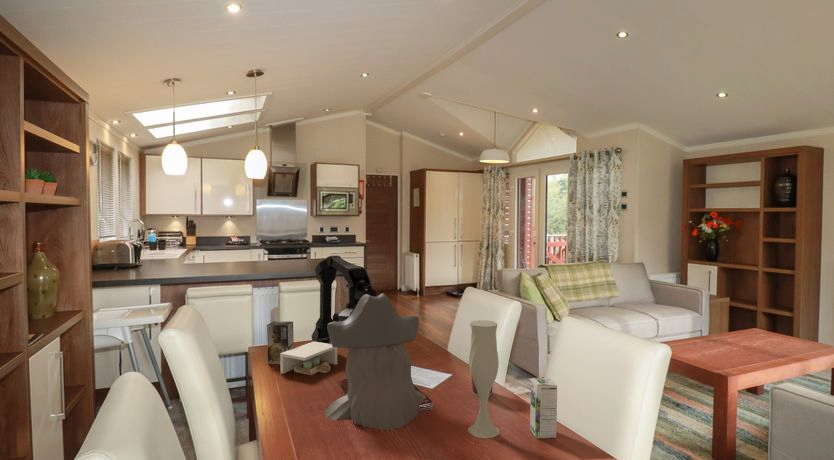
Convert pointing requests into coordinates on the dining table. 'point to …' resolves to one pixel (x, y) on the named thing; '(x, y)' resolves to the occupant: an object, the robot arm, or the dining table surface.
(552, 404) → the syrup box
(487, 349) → the vase
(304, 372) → the beige flat piece
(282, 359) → the cream flanged slab
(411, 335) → the grey sculpted piece
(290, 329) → the coffee box
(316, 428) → the dining table surface
